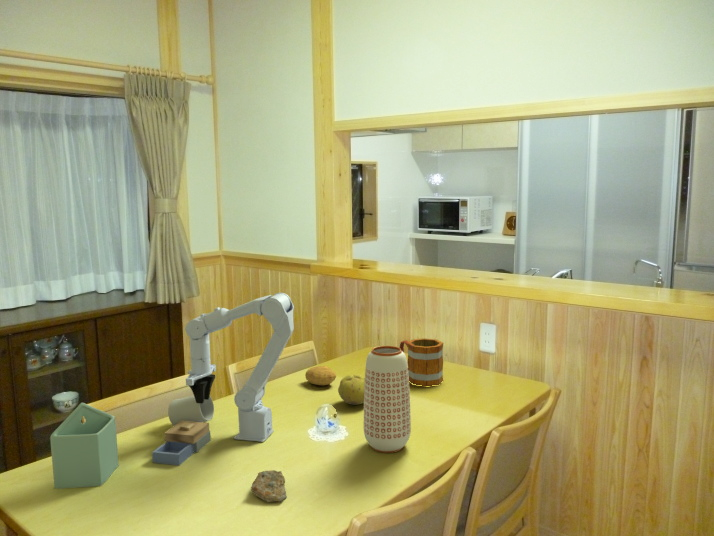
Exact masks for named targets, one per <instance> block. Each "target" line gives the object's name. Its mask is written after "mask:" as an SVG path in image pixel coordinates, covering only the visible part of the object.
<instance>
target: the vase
mask: <svg viewBox="0 0 714 536" xmlns="http://www.w3.org/2000/svg"><path fill="white" fill-rule="evenodd" d="M365 361H366V362H365V369H364V370H365V372H364V378H365V385H364V402H363V435H364V437H365V440H366V442H367V443H368V444H369V446H370V447H371V448H372V449H373V450H374V451H376V452H379V453H386V454H391V453H396V452H399V451H401V450H402V449H403V447H405V445H406V444H407V443H408V441H409V439H410V436H411V433H412V431H411V430H412V425H411V424H412V419H411V418H412V417H411V393H410V383H409V375H408V363H407V362H408V358H407V356H406V354H405V351H404V352H403V351H401V349H400V347H398V346H394V345H380V346H379V345H378V346H374V347H372V349H371V351H370V352H368V354H367V357H366V360H365Z"/></svg>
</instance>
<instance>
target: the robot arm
mask: <svg viewBox="0 0 714 536" xmlns="http://www.w3.org/2000/svg"><path fill="white" fill-rule="evenodd" d="M294 310H295V306H294V304H293V302H292V300H291V297H290V296H289V295H288V294H287V293H284V292H276V293H275V294H274V295H273V294H270V295H265V296H262V297H258V298H255V299H253V300H251V301H248V302H246V303H243V304H240V305H238V306H236V307H234V308H231V309H228V308H225V307H219V306H218V307H216V308H213V311H211V312H208V313H204V312H203V313H201V314H200V315H199V316H197V317H195V318H193V319H190V320H189V321H188V322H187V323H186V325H185V333H186V335H187V337H189V354H190V358H189V359H190V370H188V371H187V374H188V376H187V377H185V385H186V386H188V387H189V388H190V390H191V391H192V394H193V396H194V397H195V400H196V403H201V404H203V403H204V399H206V400H208V399H209V396H210V397H211V391H212V388H213V387H212V386H213V383H214V381H215V379H216V375H215V374H212V373H213V372H216V370H217V369H216V368H217V367H216V366H217V365H216V364H211V360H212V359H211V346H210V345H211V344H210V343H211V341H210V334H211V333H215V332H217V331H219V330H222V329H225V328H228V327H230V326H231V325H232V322H233V321H234V320H237V319H240V318H244V317H246V316H250V315H253V314H256V315H258V316H259V317H261V316H264V318H265V319H266V320H267V322H269V324H270V325H271V326H272V329H273V333H272V335H271V336H270V339H269V341H268V343H267V345H266V346H265V349H264V350H263V351H262V354H261V356H260V358H259V359H258V361H257V363H256V365H255V367H254V369H253V370H252V373H251V375H250V376H249V378H248V379H247V381H245V383H244V385H243V387H242V388H241V389H240V390H238V391H237V392H236V393H235V395H234V398H233V399H234V404H235V406H236V407H237V409H238V410H237V412H238V433H237V434H236V435H235V436H234V437H233V439H234V440H241V441H249V442H250V441H251V442H260V443H261V442H262V443H263V442H265V441H266V440H267V439H268V438H269V437H270V435H271V434H273V432H274V429H273V411H272V409H271V408H270V407H267V406H264V405H263V400H262V399H263V397H264V396H265V394H266V393H265V391H266V386H267V384H268V379H269V377H270V375H271V373H272V372H273V370H274V368H275V366H276V364H277V362H278V361H279V359H280V357H281V356H282V354H283V352H284V349H285V348H286V346H287V344H288V342H289V340H290V339H291V336H292V334H293V333H294V329H295V327H294V326H295V325H294Z"/></svg>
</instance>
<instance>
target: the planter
mask: <svg viewBox="0 0 714 536" xmlns="http://www.w3.org/2000/svg"><path fill="white" fill-rule="evenodd" d="M83 419H85V421H84V422H83V423H82V420H83ZM116 421H117V420H116V416H115V415H113V414H110V413H108V412H105V411H103V410H101V409H98V408H96V407H93V406H91V405H89V404H88V403H87V404H86V403H85V402H80V403H79V404H78V405H77V407H76V408H75V409H73V411H72V412H71V413H70V414H69V416H67V417H66V419H64V420H63V422H61V424H59V426H58V427H57V428H56V429H55V430H54V431H53V432H52V433H51V435H50V437H49V439H50V452H51V462H52V465H51V466H52V474H53V486H54V487H53V489H58V490H59V489H75V488H77V489H78V488H90V487H91V488H92V487H102V486H103V485H104V484H105V483H106V482H107V481H108V480H109V478H110V477H111V475H113V474H114V472H115V470H116V469H117V468H118V467H119V466H120V464H119V452H118V450H119V449H118V438H117V437H118V435H117V424H116Z"/></svg>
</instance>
